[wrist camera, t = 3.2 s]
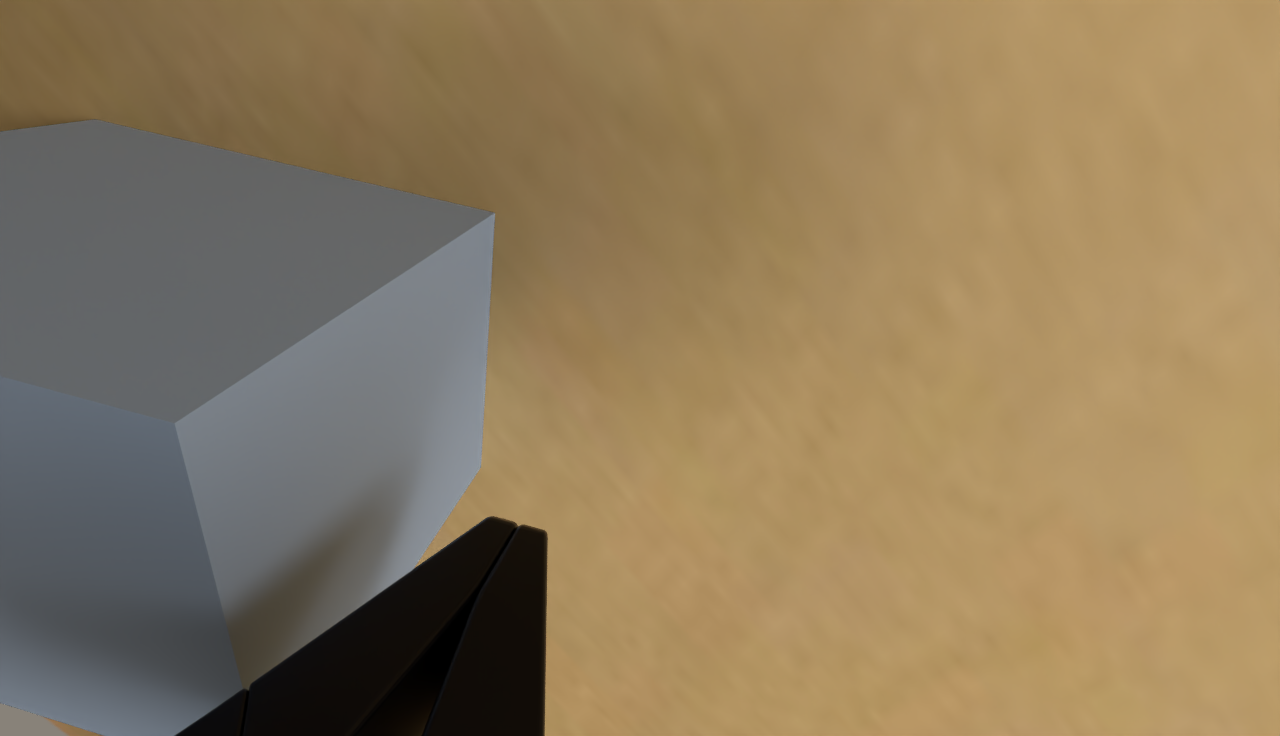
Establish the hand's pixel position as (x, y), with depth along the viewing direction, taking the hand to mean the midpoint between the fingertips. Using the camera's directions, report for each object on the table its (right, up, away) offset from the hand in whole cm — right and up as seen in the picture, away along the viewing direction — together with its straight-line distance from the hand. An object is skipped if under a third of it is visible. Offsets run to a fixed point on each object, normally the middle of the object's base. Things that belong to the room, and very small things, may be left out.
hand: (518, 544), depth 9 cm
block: (-5, +4, +4) cm, 8 cm away
